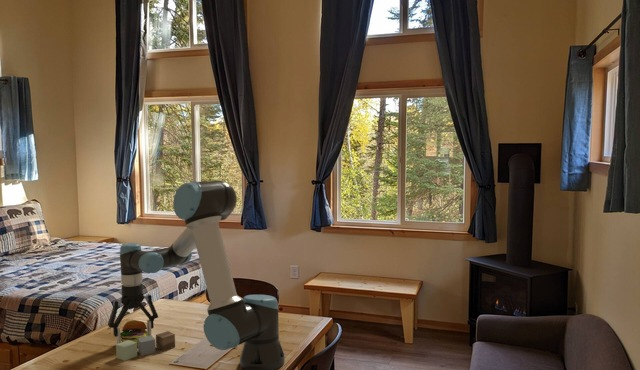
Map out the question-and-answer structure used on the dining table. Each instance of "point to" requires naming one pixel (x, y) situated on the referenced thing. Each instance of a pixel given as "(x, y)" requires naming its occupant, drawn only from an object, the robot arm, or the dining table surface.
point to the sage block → (126, 350)
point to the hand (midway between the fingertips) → (134, 340)
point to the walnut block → (165, 340)
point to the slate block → (146, 345)
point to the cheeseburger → (133, 331)
